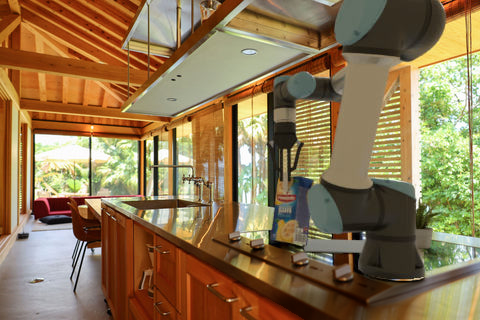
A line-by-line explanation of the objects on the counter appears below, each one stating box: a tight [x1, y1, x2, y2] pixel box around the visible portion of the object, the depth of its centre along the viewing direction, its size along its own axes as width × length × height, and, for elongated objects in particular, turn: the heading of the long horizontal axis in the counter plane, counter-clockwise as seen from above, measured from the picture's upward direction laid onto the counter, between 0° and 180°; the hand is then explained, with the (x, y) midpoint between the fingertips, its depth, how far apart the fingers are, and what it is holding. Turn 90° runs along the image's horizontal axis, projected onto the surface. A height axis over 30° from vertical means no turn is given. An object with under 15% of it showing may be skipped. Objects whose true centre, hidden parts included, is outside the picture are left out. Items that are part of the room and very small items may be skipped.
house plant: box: [416, 197, 445, 249], centre depth 112 cm, size 14×14×16 cm
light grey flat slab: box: [302, 238, 365, 255], centre depth 112 cm, size 18×22×1 cm
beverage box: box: [270, 175, 315, 246], centre depth 116 cm, size 7×11×22 cm, turn 34°
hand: (285, 191), depth 115 cm, fingers closed
